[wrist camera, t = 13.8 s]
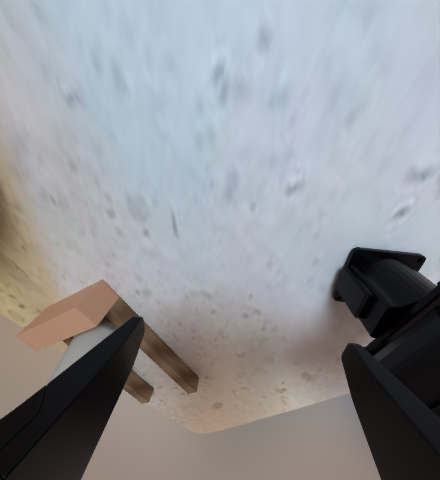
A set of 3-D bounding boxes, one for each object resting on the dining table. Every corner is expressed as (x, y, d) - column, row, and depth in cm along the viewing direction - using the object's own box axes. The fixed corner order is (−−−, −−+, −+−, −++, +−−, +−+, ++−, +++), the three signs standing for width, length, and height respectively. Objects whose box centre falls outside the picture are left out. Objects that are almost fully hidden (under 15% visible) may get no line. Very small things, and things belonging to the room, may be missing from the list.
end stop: (119, 296, 25) (96, 326, 21) (65, 321, 29) (36, 351, 25) (102, 279, 24) (75, 307, 20) (48, 307, 28) (15, 335, 24)
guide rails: (198, 377, 32) (196, 391, 30) (147, 390, 35) (142, 403, 33) (119, 296, 25) (110, 308, 24) (65, 321, 29) (53, 333, 27)
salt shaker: (99, 339, 30) (10, 466, 18) (82, 311, 27) (-34, 438, 16) (135, 338, 29) (65, 471, 17) (120, 309, 26) (27, 442, 15)
